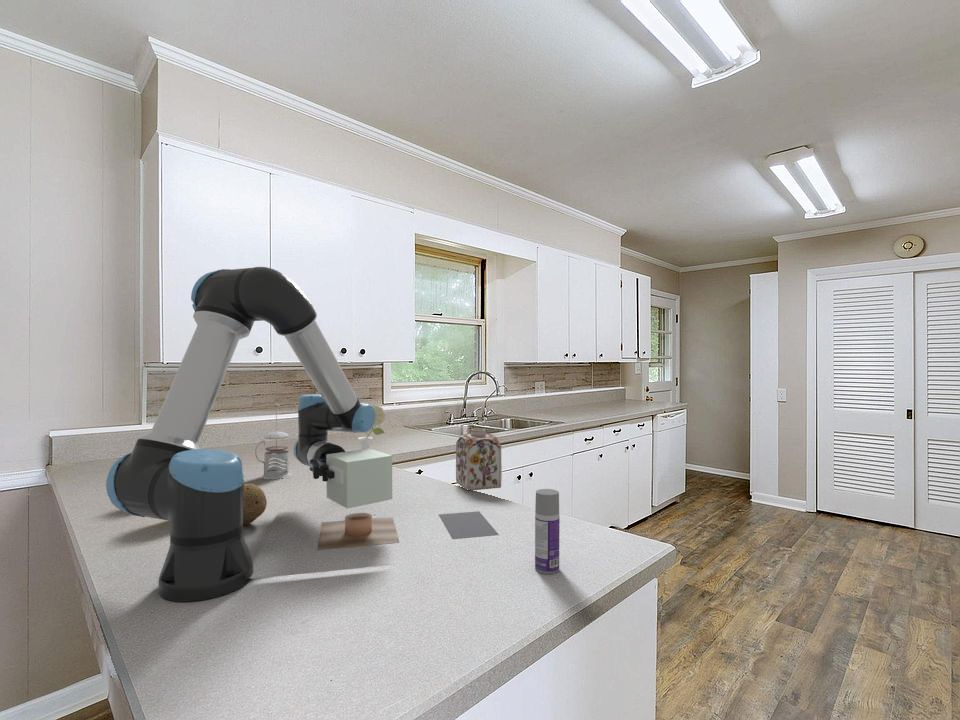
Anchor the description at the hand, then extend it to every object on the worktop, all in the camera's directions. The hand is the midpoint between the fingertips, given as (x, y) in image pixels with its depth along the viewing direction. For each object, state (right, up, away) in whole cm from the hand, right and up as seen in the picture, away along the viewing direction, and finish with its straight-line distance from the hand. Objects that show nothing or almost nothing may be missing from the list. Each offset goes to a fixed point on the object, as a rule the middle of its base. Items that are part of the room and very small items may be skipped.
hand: (367, 473), depth 113 cm
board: (-3, -15, +3) cm, 15 cm away
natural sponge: (-31, -15, +10) cm, 36 cm away
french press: (-45, -15, +60) cm, 77 cm away
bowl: (-3, -14, +3) cm, 15 cm away
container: (+38, -15, -15) cm, 44 cm away
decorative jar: (+25, -15, +48) cm, 56 cm away
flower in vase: (-12, -15, +56) cm, 59 cm away
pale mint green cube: (-3, -6, +3) cm, 8 cm away
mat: (+18, -15, +8) cm, 25 cm away
